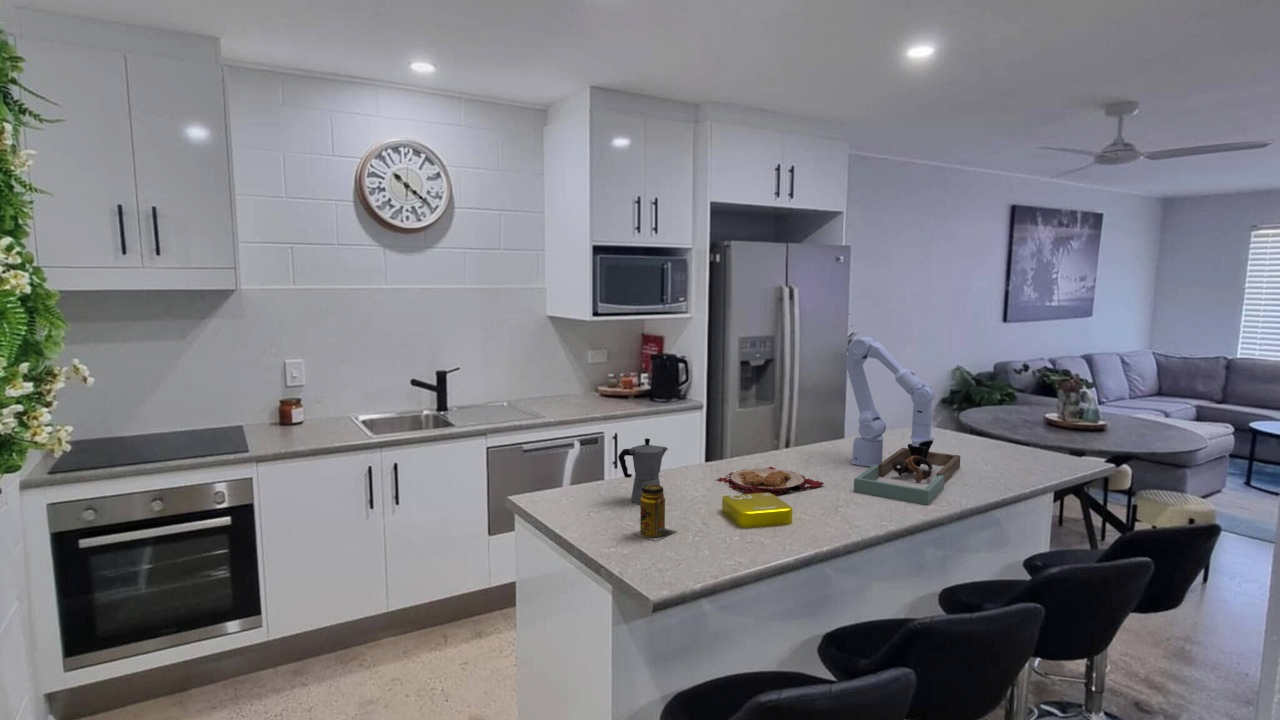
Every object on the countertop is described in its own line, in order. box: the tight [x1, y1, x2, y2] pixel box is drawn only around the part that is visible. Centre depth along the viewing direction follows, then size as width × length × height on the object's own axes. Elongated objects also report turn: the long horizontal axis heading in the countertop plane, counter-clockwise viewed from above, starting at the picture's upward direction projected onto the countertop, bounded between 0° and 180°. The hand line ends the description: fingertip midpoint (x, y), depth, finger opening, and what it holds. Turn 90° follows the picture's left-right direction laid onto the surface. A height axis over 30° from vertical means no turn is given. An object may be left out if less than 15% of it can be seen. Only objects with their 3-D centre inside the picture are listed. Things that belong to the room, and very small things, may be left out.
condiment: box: [634, 484, 677, 542], centre depth 169 cm, size 7×8×12 cm
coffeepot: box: [617, 437, 669, 506], centre depth 194 cm, size 15×9×18 cm, turn 116°
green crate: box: [853, 465, 945, 506], centre depth 207 cm, size 21×20×4 cm
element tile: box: [721, 493, 794, 529], centre depth 182 cm, size 15×15×5 cm
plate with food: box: [715, 466, 825, 497], centre depth 214 cm, size 25×26×4 cm
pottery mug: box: [892, 456, 933, 483], centre depth 219 cm, size 12×10×8 cm
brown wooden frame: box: [878, 447, 961, 484], centre depth 227 cm, size 19×28×4 cm
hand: (919, 464), depth 226 cm, fingers open, 7 cm apart
